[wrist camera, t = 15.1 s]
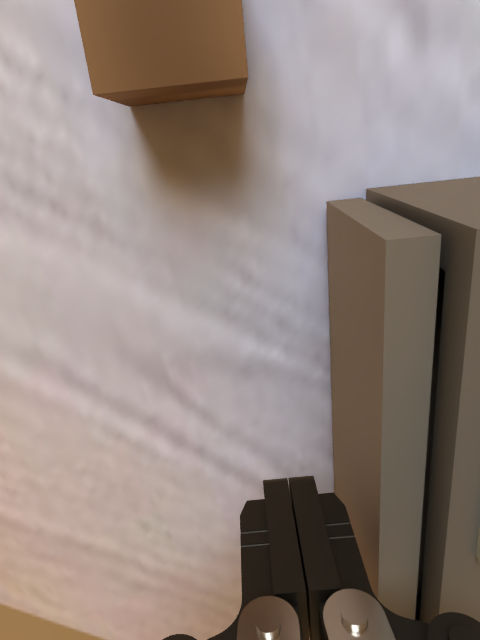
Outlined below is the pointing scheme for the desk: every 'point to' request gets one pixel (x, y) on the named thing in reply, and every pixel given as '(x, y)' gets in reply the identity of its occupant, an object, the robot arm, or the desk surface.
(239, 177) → the desk surface
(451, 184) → the housing
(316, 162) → the desk surface
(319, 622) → the robot arm
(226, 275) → the desk surface
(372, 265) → the tray
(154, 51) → the brown block
